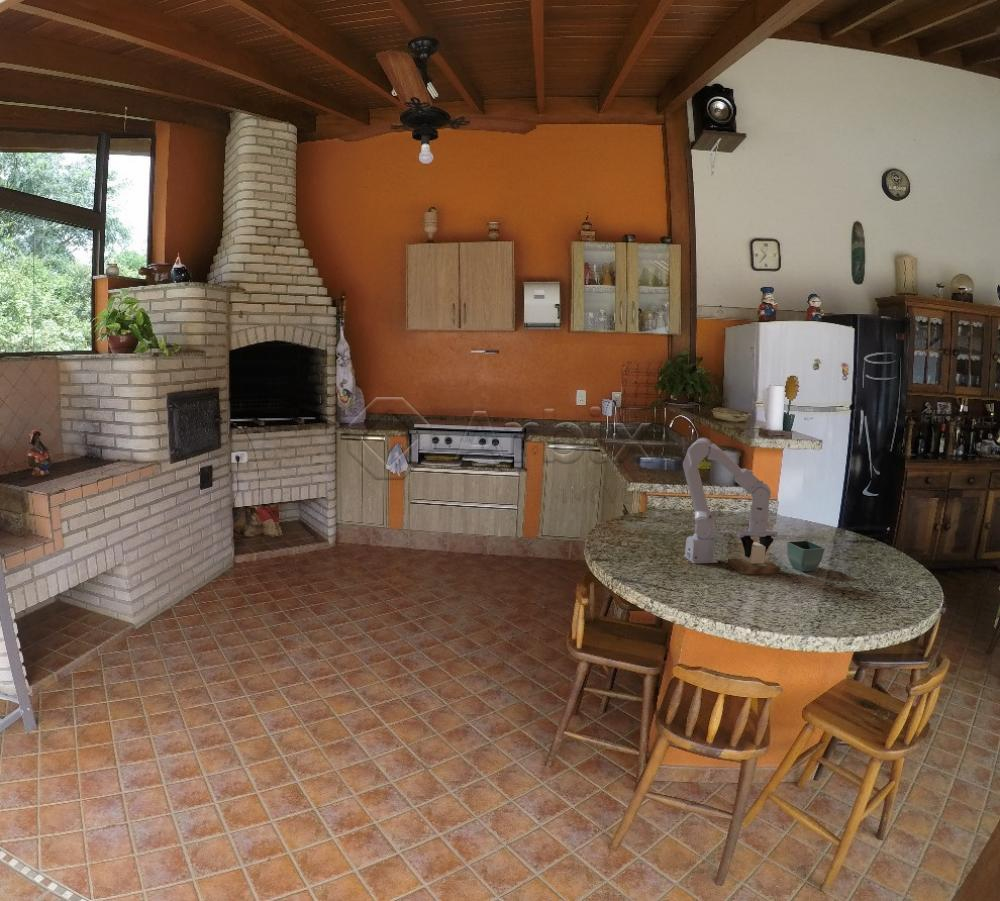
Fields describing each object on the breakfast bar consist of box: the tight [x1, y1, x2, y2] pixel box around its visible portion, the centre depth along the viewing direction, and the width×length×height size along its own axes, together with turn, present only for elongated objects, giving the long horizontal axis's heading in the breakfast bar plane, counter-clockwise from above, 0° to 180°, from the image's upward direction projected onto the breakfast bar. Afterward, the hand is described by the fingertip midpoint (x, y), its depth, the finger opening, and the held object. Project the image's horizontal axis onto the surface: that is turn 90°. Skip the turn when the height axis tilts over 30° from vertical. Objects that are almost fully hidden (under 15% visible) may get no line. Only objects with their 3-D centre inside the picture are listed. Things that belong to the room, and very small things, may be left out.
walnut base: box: [726, 557, 781, 575], centre depth 221 cm, size 14×10×2 cm
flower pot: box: [786, 540, 826, 572], centre depth 222 cm, size 9×9×9 cm
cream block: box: [742, 541, 766, 564], centre depth 220 cm, size 5×5×6 cm
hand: (754, 556), depth 220 cm, fingers closed on cream block, 5 cm apart
